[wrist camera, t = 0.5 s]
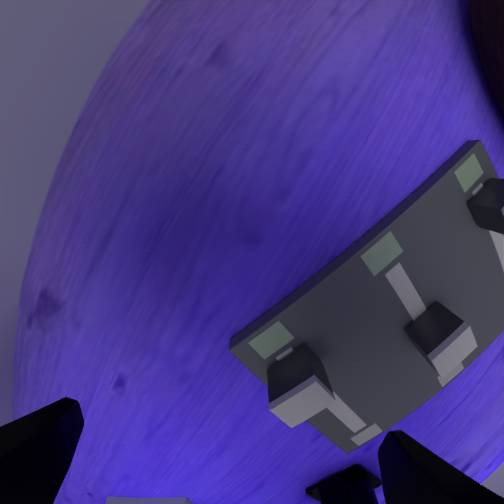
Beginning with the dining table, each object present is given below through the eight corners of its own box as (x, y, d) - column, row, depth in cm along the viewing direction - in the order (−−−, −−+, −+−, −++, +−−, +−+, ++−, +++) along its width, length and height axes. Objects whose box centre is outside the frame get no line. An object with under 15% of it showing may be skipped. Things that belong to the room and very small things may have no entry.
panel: (524, 287, 20) (535, 292, 18) (343, 442, 23) (347, 454, 21) (467, 141, 17) (481, 139, 15) (230, 338, 20) (228, 351, 19)
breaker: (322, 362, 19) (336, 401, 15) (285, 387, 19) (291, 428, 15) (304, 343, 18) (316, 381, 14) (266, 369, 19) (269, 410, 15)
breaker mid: (446, 320, 18) (477, 346, 14) (415, 347, 19) (441, 378, 15) (437, 300, 18) (469, 325, 14) (404, 329, 18) (431, 360, 14)
